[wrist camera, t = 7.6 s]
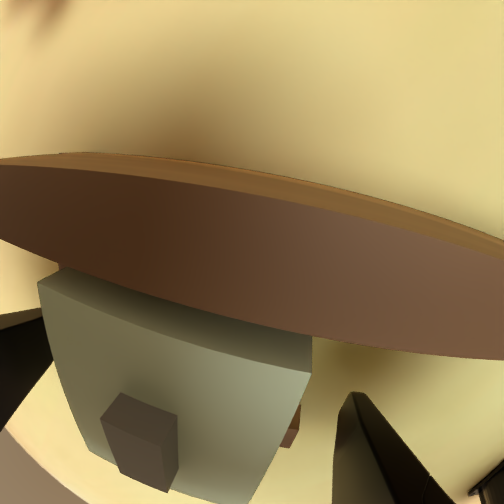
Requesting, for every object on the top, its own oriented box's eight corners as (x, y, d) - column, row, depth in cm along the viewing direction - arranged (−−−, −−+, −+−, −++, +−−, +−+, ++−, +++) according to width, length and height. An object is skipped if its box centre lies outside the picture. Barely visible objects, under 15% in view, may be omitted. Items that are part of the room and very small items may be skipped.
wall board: (477, 429, 10) (504, 501, 5) (93, 359, 13) (26, 429, 7) (565, 268, 7) (637, 320, 1) (84, 152, 10) (-44, 164, 4)
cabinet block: (272, 384, 11) (238, 531, 5) (162, 353, 12) (77, 466, 5) (310, 250, 9) (310, 416, 3) (168, 220, 10) (7, 298, 3)
